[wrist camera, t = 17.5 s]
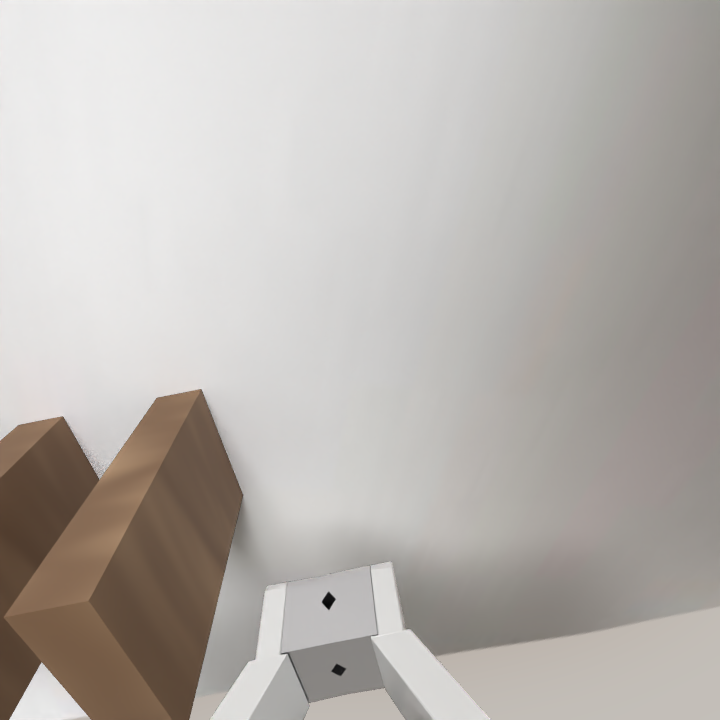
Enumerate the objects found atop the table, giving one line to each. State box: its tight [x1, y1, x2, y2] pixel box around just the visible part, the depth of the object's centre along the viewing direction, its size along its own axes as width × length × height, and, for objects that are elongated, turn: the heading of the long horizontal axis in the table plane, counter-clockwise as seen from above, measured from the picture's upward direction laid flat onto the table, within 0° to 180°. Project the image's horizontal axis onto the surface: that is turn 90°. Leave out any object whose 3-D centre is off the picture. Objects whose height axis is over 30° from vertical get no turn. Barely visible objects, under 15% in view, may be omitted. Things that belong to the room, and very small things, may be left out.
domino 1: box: [0, 416, 99, 720], centre depth 13 cm, size 2×5×8 cm, turn 10°
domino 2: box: [4, 389, 243, 720], centre depth 13 cm, size 2×5×8 cm, turn 10°
